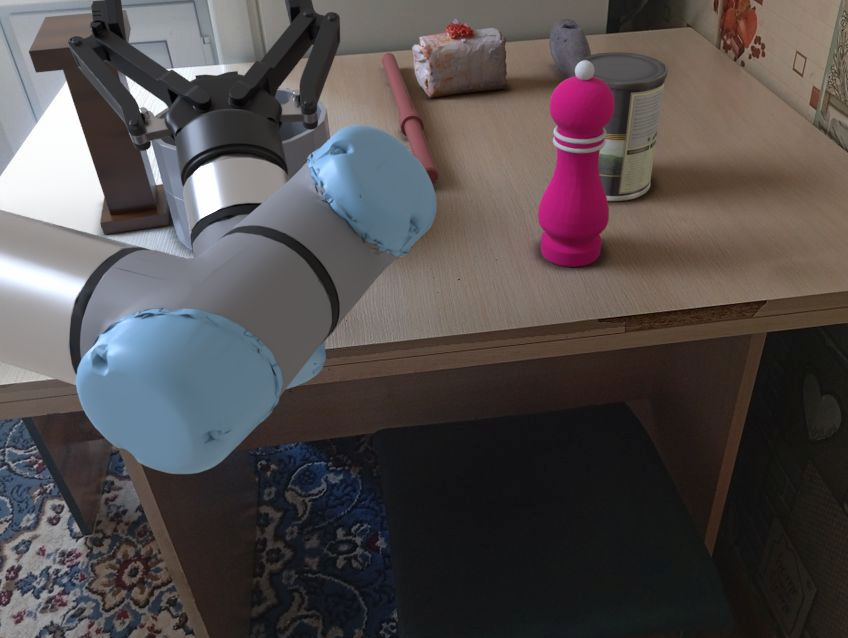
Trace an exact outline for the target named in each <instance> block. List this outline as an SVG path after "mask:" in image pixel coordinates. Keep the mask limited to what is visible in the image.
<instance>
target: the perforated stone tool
mask: <svg viewBox="0 0 848 638" xmlns="http://www.w3.org/2000/svg"><path fill="white" fill-rule="evenodd" d="M548 43H549V44H548V45H549V51H550V55H551V57H552V60H553V63H554V64H555V66H556V67H557V68H558V70H559V71H560V72H561V74H563V75H564V76H565V77H566V79H568V78H570V77H574V76H575V74H574V65H575V63H576V62H577V61H578V60H580V59H582V58H584V57H586V56H590V55H592V53H591V48H590V45H589V41H588V39H587V36H586V34H585V31H584V29H582V27H581V26H580V25H579V24H578V23H577V22H575V21H574V20H573V19H570V18H560V19H558V20H557V21H555V23H554V24H553V25H552V27H551V31H550V34H549V41H548Z"/></svg>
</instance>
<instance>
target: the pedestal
mask: <svg viewBox="0 0 848 638" xmlns="http://www.w3.org/2000/svg"><path fill="white" fill-rule="evenodd" d="M122 11H123V19H124V26H125V34H126V42H127V43H129V42H130V36H131V24H130V20H129V18H128V17H129V15H128V13H127V10H125V9H122ZM92 21H93V19H92V12H89V13H88V12H87V13H75V14H64V15H54V16H53V15H52V16H45V17H44V19H43V20H42V23H41V25H40V27H39V29H38V31H37V33H36V36H35V38H34V40H33V42H32V44H31V45H30V48H29V50H28V54H29V57H30V59H31V63H32V65H33V68H34V71H35V73H37V74H38V73H47V72H56V71H62V72H63V74H64V78H65V81H66V84H67V87H68V90H69V93H70V96H71V99H72V102H73V105H74V108H75V111H76V115H77V118H78V120H79V124H80V127H81V129H82V134H83V136H84V139H85V142H86V145H87V148H88V152H89V154H90V157H91V161H92V163H93V166H94V167H93V168H94V169H95V172H96V173H95V174H96V176H97V179H98V181H99V182H98V183H99V185H100V188H101V190H102V194H103V203H102V210H101V216H100V223H99V224H100V227H101V230H102V233H103V235H110V234H111V235H112V234H117V233H124V232H132V231H139V230H145V229H153V228H160V227H166V226H170V208H169V205H168V201H167V198H166V194H165V190H164V187H163V183H160V184H157V182H156V180H155V176H154V172H153V169H152V165H151V161H150V158H149V154H148V151H147V150H145V151H140V150H137V149H136V148H135V146H134V144H133V142H132V139H131V137H130V134H129V132H128V129H127V127H126V124H125V123H124V121H123V120H122V119H121V118H120V117H119V115H118V114H117V113H116V112H115V111H114V110H113V108H112V107H111V106H110V105H109V104H108V102H107V101H106V100H105V99H104V98H103V97H102V95H101V94H100V93H99V92H98V91H97V89H96V88H95V87H94V86H93V85H92V83H91V82H90V81H89V80H88V79H87V78H86V76H85V75H84V74H83V73H82V72H81V70H80V69H79V67H78V65H77V63H76V61H75V59H74V57H73V54H72V52H71V50H70V47H69V45H68V40H69V39H70V38H71V37H74V36H80V37H82V38H83V39H84V38H87V37H89V36H90V35H92V31H91V29H90V23H91V22H92ZM129 44H130V43H129ZM103 62H104V63H105V64H106V65H107V66H108V68H109V69H110V70H111V71H112V72H113V73H114V75H115V76H116V77H117V78H118V79H119V80H120V82H121V83H122V84H123V85H124V86H125V87H126V89H127V90H128V91H129V92H130V93H131V91H130V87H129V82H128V80H127V76H125V75H124V74H122V73H121V72H120V71H118V70H117V69H115V68H114V67H112V66H111V65H110V64H108V63H107V62H105V61H104V60H103Z"/></svg>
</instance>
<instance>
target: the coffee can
mask: <svg viewBox="0 0 848 638" xmlns="http://www.w3.org/2000/svg"><path fill="white" fill-rule="evenodd" d="M584 60H587V61H590V62H591V63H592V64H593V66H594V75H593V76H592V77H595V78H598V79H600V80H602V81H603V82H605V83H606V84H607V85H608V86H609V88H610V89H611V91H612V93H613V97H614V113H613V116H612V118H611V120H610V121H609V122H608V123H607V124H606V125H605V126H604V128H605V130H606V136H605V145H604V147H603V148H602V149H600V153H599V165H598V169H599V175H600V179H601V182H602V185H603V188H604V191H605V194H606V197H607V202H625V201H631V200H634V199H637V198H640V197H641V196H643V195H645V194H647V192H648V191H649V190H650V188H651V180H652V173H653V164H654V157H655V152H656V144H657V137H658V131H659V124H660V118H661V110H662V103H663V98H664V97H663V96H664V91H665V83H666V79H667V77H668V72H669V70H668V69H669V68H668V67H667V65H666V64H665V63H664V62H663V61H660V60H659V59H657V58H654V57H651V56H648V55H644V54H639V53H633V52H621V51H620V52H618V51H617V52H616V51H615V52H612V51H611V52H600V53H594V54H591V55H590V56H586V57H584V58H582V59H580V60H578V61H577V62H576V63H575V65H574V74H575V68H576V66H577V64H578V63H579V62H581V61H584ZM575 76H576V75H575Z"/></svg>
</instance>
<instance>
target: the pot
mask: <svg viewBox="0 0 848 638" xmlns="http://www.w3.org/2000/svg"><path fill="white" fill-rule="evenodd" d="M294 90H295V89H291V88H281V87H279V88H278V89H277V91H276V95H275V98H276V99H277V100H278V101H279V102H280V104H285V103H287V102H288V101H289V99H290V96H291V95H292V94H293V91H294ZM168 109H169V108H168V107H166V108H164V109H163V110H162V111H160V112H158V113H157V114H155V115H154V116H155V117H157V118H160V119H163V118H165V114H166V112H167V111H168ZM317 113H318V126H317V127H316V128H315V129H312V130H309V129H306V128H305V127H304V126H303V124H302V122H287V123H283V124H282V126H281V128H280V135H281V139H282V144H283V149H284V154H285V159H286V163H287V168H288V176H289V179H291V178H292V177H293V176H294V175H295V174H296V173H297V172H298V171H299V170H300V169H301V168H302V167H303V166H304V164H305V163H306V162H307V161H308V160H307V158H308V156H309V155H310V154H311V153H312V152H314V151H315V150H316V149H318V148H321V147H322V146H323V145H324V144H325V143H326V142H327V141H328V140H329V139H330V138H331V132H330V123H329V116H328V110H327V107H325V105H324V103H323V101H322V100H320V99H319V101H318V104H317ZM151 147H152V150H153V154H154V157H155V160H156V163H157V168H158V172H159V175H160V178H161V179H160V180H161V184H163V187H164V190H165V194H166V198H167V201H168V205H169V213H170V217H171V219H172V223H173V226H174V230H175V234H176V236H177V238H178V240H179V242H180V243H181V244H182V245H183V246H185V248H187V249H188V250H190V251H192V245H191V242H190V235H189V229H188V223H187V216H186V210H185V204H184V198H183V185H182V182H181V177H180V170H179V163H178V157H177V150H176V143H175V141H174V140H173V139H172V138H171V137H166V138H162V139H157V140H152V141H151Z"/></svg>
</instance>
